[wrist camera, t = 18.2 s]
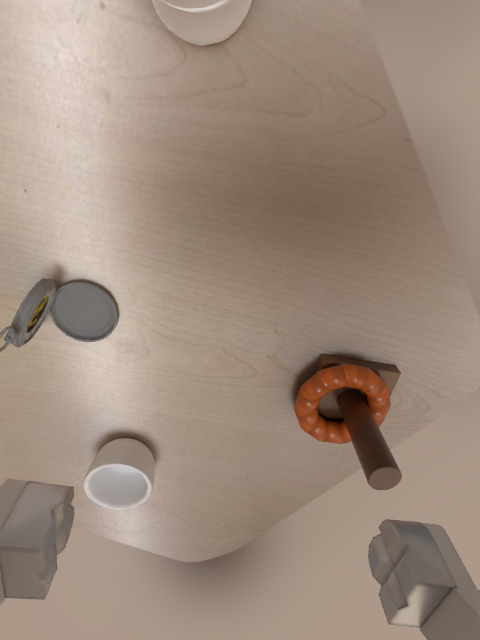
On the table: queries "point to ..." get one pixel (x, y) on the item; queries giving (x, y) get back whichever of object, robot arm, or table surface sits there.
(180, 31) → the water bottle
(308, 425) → the orange beaded ring
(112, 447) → the teacup
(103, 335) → the pocket watch
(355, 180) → the table surface
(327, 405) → the stand
